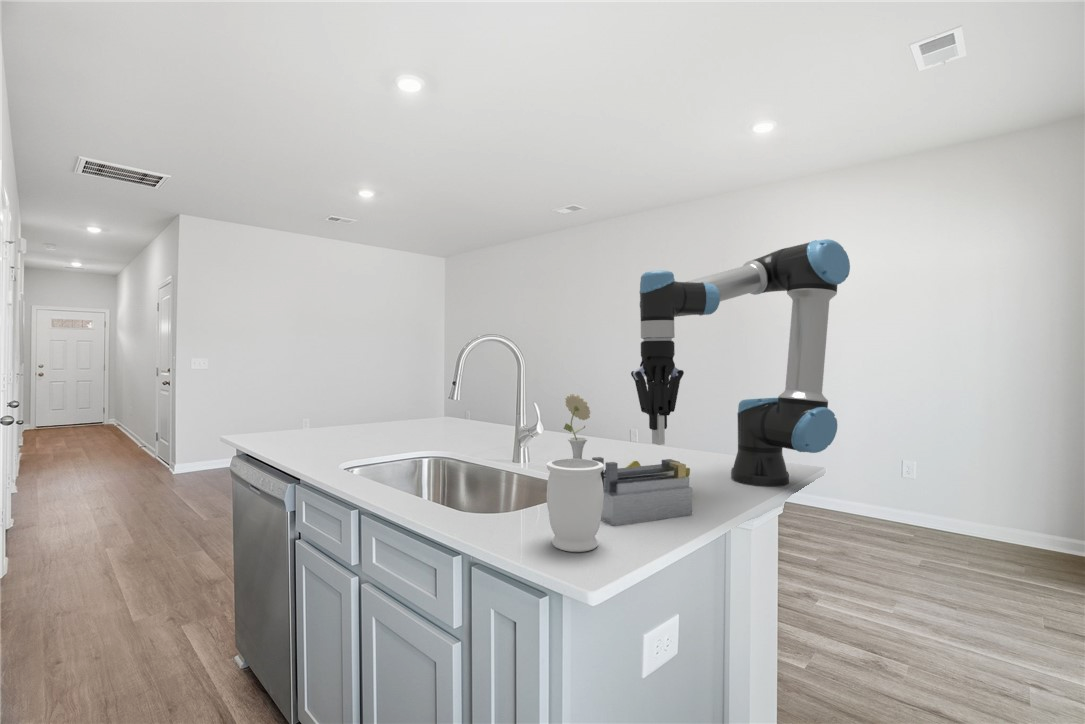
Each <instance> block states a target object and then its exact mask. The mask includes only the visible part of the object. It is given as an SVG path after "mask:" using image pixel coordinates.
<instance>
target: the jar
mask: <svg viewBox="0 0 1085 724" xmlns="http://www.w3.org/2000/svg"><path fill="white" fill-rule="evenodd" d="M603 466H604V467H603ZM604 468H605V465H604V464H603V463H601V462H598V461H593V460H592V459H587V458H582V459H573V458H560V459H559V458H558V459H554V460H550V461H548V462H547V463H546V469H547V471H549V475H548V479H547V485H546V504H547V505H546V506H547V510H548V511H547V512H548V518H549V524H550V528H551V530H552V532H553V534H554V536H553V538H552V540H551V543H552V546H553V547H555V548H556V549H558V550H561V551H565V552H571V553H582V552H583V553H584V552H589V551H592V550H594V549H596V548H597V547H598V545H599V544H598V543H599V542H598V540H597V538H596V535H597V533H598V532H599V530H600V526H601V521H602V519H601V515H602V510H603V502H604V490H603V482H602V477H601V472H602V471H603V469H604ZM604 470H605V469H604Z"/></svg>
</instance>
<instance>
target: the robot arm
mask: <svg viewBox="0 0 1085 724" xmlns="http://www.w3.org/2000/svg"><path fill="white" fill-rule="evenodd" d="M850 270H851V265H850V259H849V255H848V254H847V251H846V250H845V248H844V247H843V246H842V245H841V244H840V243H839V242H838V241H836V240H834V239H829V238H827V239H820V240H816V239H815V240H812V241H810V242H805V243H802V244H797V245H794V246H789V247H785V248H781V249H777V250H775V251H772V252H770V253H767V254H766V255H763V256H759V257H758V258H755V259H751V260H748V261H746V262H744V264H743V265H742V266H739V267H735V268H731V269H728V270H725V271H724V270H723V271H721V272H717V273H714V274H710V275H706V276H702V277H700V278H695V279H691V280H687V281H676V280H675V275H674V273H673V271H669V270H650V271H646V272H645V273H643V274H641V276H640V284H639V310H640V312H639V313H640V314H639V315H640V338H641V339H642V341H641V342H640V357H641V361H640V364H639V367H638V368H637V369H636V370H632V371H631V372H630V375H631V378H632V379H633V380H634V383H635V388H636V392H637V397H638V402H639V406H640V410H641V413H643V414H646V415H648V417H649V418H648V421H649V422H648V423H649V424H648V426H649V427H648V428H649V429H650V430H651V444H655V445H657V446H662V445H663V446H664V445H665V444H666V441H665V440H666V438H665V435H666V434H665V433H666V432H665V430H667V428H668V416H670V415H671V413H673V412H675V410H676V405H677V400H678V394H679V388H680V384H681V379H682V378H683V376H684V373H685V372H684V370H683V369H679V368H677V366H675V364H676V363H675V362H674V356H675V352H676V351H675V342H674V340H673V339H674V338H675V333H676V332H675V318H676V317H686V316H705V315H706V316H708V315H712V314H713V313H715V312H716V311H717V310H718V309H719V306H720V303H721V302H723V301H727V300H731V299H734V298H737V297H740V296H743V295H748V294H750V295H760V294H763V293H764V294H766V293H774V292H785V291H786V294H787V296H788V297H789V298H790V299H791V300H792V304H791V318H790V326H789V327H790V329H789V341H788V342H789V343H788V350H787V351H788V352H787V362H786V363H787V365H786V375H785V376H786V378H785V389H784V390H783V392H781V394H779V395H778V397H765V398H763V397H762V398H761V397H760V398H748V399H743V400H740V402H739V403H738V406H737V407H738V408H737V409H738V411H737V413H736V415H737V453H736V455H735V459H734V463H733V467H731V471H730V473H731V474H730V479H731V480H732V481H735V482H738V483H740V484H746V485H753V486H761V487H781V486H785V485H788V484H789V483H790V473H789V471H787V465H786V462H785V459H784V455H783V449H788V450H793V451H797V452H799V453H811V454H817V453H821V452H822V451H824V450H826V449H827V448H828V447H829V446H830V445H831V444H832V443H833V441H834V439H835V438H836V435H837V431H838V419H837V418H836V417H835V416H836V415H835V413H834V412H833V411H832V410H831V409H830V408H828V407H829V400H828V399H827V398H826V396H824V394H823V385H824V384H823V383H824V374H825V373H824V372H825V363H826V362H825V359H826V348H827V336H828V325H829V322H828V321H829V313H830V312H829V310H830V301H831V300H832V299H833V298H834V297H835V296H837V294H838V285H841V284H842V283H844V282H845V281H846V280H847V278H848V277H849V274H850ZM645 377H646V379H645Z"/></svg>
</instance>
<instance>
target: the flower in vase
mask: <svg viewBox="0 0 1085 724" xmlns="http://www.w3.org/2000/svg"><path fill="white" fill-rule="evenodd" d="M564 399H565V407H566V408H568V411H569V412H570V414H571V415H572V416H571V420H570V424H569V423H567V422H566V423H565V425H564V427H563V429H564V430H565V431H569V432H570V433H572V434H573V436H574V437H569V438H567V441H568V442H569V444H570V446H571V450H572V451H571V452H572V459H583V452H584V451H583V450H584V447H585V444H586V443H587V441H588V438H586V437H577V436H576V434H577V433H578V432H580V431H582V430H583V429H585V428H586V425H584V426H583V427H582V428H580V429H577V431H574V427H573V420H574V417H575V418H578V419H579V420H581V421H585V420H588V419H590V418H591V416H590V415H591V410H590V406H589V405H588V402H587V401H584V398H582V397H581V398H580V395H579V394H577V395H575V394H574V393H572V394H570V395H568V396H566V397H565V398H564Z"/></svg>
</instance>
